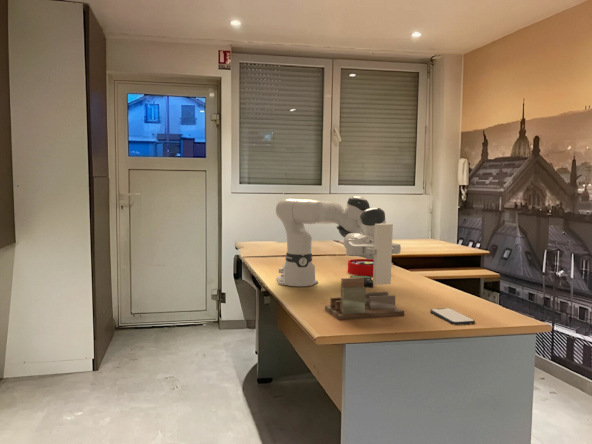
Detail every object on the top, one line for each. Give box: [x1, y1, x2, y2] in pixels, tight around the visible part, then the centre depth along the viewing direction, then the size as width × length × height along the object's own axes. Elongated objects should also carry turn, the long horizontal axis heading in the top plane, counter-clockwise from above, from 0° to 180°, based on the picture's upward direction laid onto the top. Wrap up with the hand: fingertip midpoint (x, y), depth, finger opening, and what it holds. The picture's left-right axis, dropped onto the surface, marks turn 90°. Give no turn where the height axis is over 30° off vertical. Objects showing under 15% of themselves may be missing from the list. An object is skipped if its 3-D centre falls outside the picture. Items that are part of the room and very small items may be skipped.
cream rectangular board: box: [372, 223, 394, 286], centre depth 172 cm, size 2×6×22 cm, turn 108°
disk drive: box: [349, 275, 374, 288], centre depth 220 cm, size 10×3×15 cm
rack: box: [324, 291, 405, 321], centre depth 170 cm, size 14×25×6 cm, turn 107°
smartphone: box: [429, 307, 476, 326], centre depth 166 cm, size 9×2×16 cm
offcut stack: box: [340, 277, 367, 314], centre depth 164 cm, size 3×8×12 cm, turn 107°
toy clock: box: [347, 258, 374, 277], centre depth 247 cm, size 20×6×20 cm
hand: (383, 251), depth 171 cm, fingers closed on cream rectangular board, 6 cm apart
